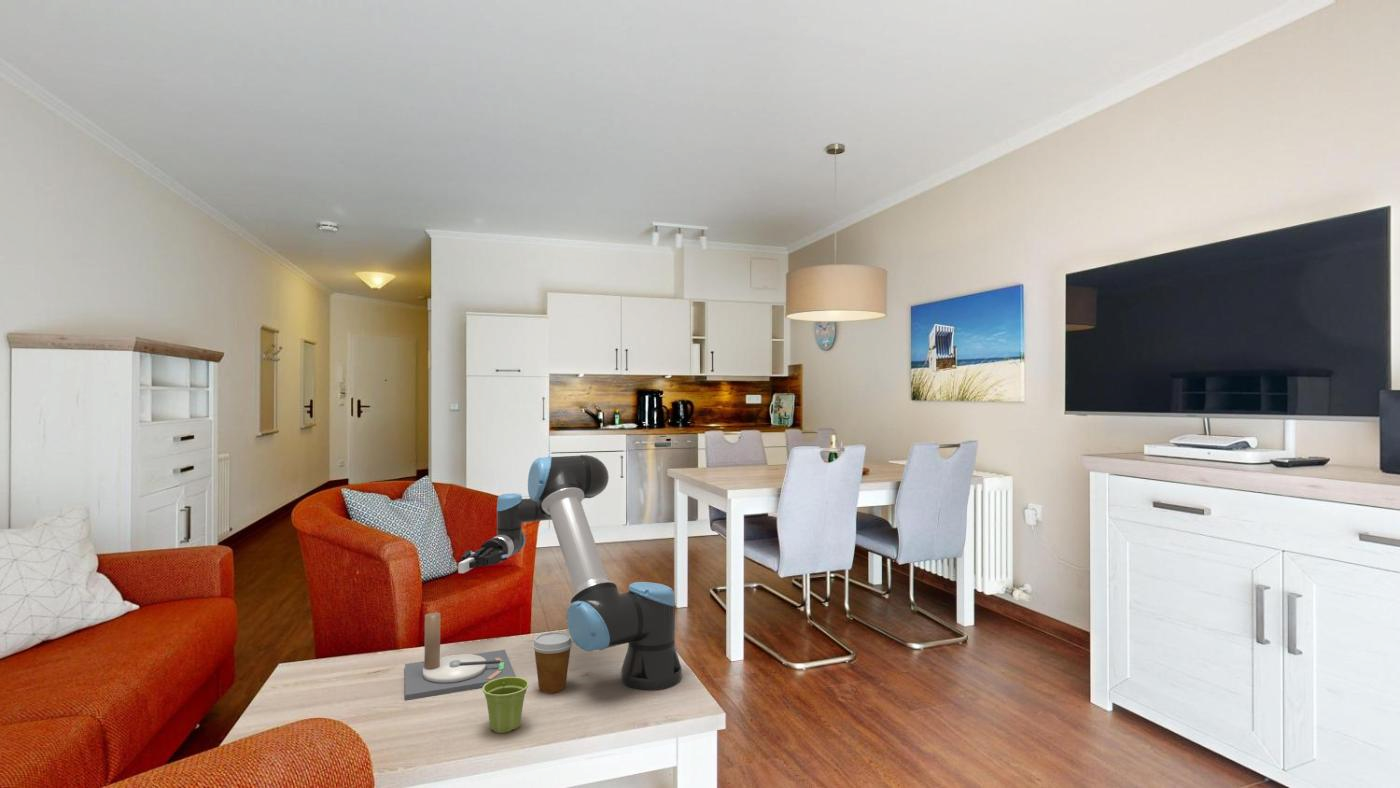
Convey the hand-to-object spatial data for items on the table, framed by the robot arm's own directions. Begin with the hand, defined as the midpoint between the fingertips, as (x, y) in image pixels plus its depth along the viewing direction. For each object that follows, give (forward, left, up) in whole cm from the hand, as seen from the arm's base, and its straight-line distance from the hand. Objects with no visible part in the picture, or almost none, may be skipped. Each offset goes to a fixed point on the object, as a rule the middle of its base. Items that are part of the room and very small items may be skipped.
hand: (461, 568), depth 175 cm
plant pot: (-42, -6, -25) cm, 49 cm away
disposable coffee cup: (-27, -19, -25) cm, 42 cm away
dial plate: (-10, +2, -25) cm, 27 cm away
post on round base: (-11, +2, -23) cm, 26 cm away
